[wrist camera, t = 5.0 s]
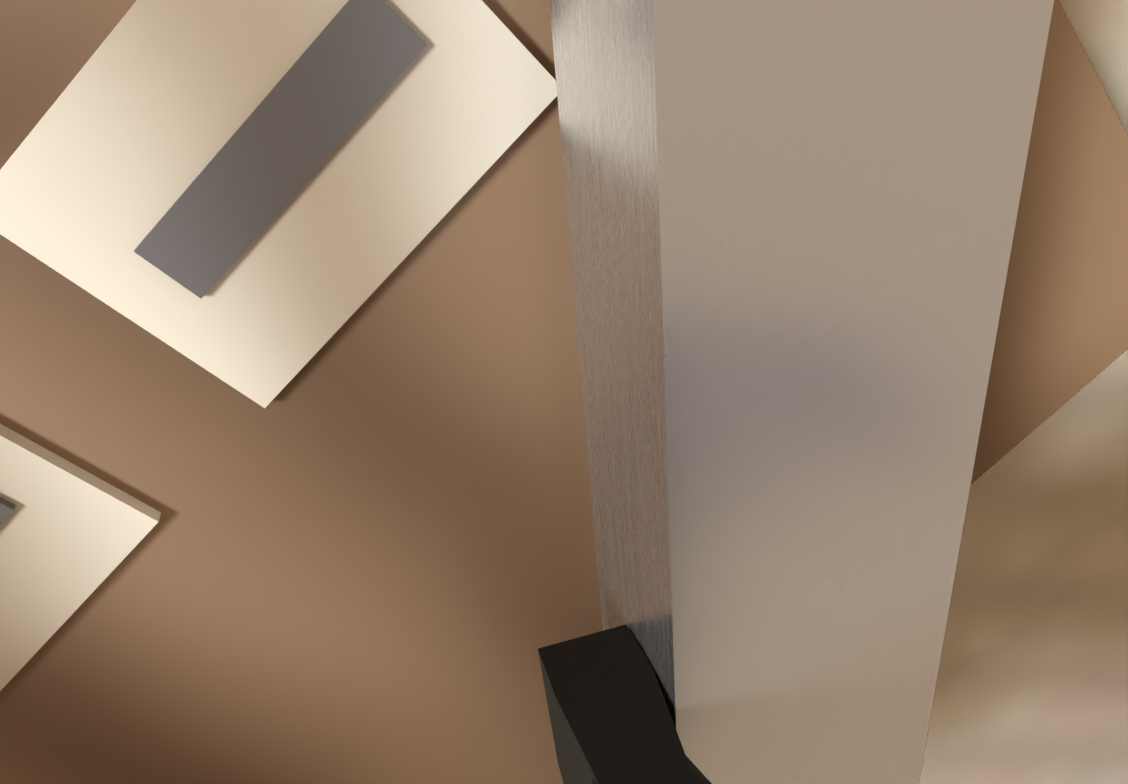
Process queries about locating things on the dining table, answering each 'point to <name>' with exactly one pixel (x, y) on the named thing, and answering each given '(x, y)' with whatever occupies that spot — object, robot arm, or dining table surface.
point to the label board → (350, 381)
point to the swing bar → (790, 348)
